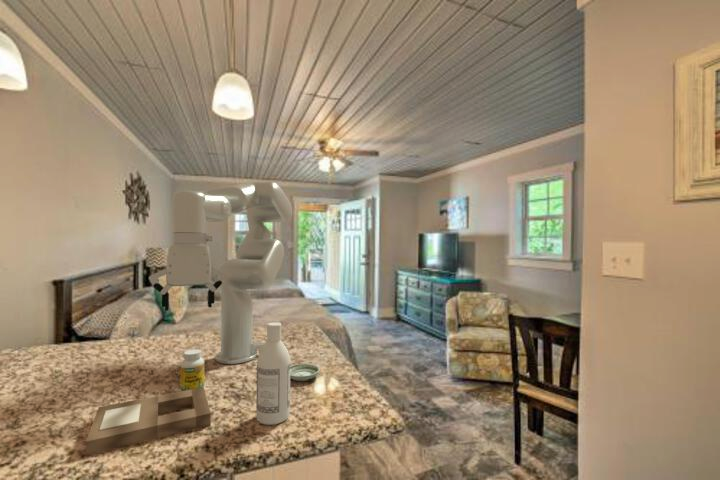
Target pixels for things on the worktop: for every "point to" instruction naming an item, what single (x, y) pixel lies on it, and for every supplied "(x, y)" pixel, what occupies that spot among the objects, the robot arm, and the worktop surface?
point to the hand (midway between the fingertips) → (188, 308)
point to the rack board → (147, 420)
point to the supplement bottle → (192, 370)
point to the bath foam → (273, 379)
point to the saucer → (303, 371)
